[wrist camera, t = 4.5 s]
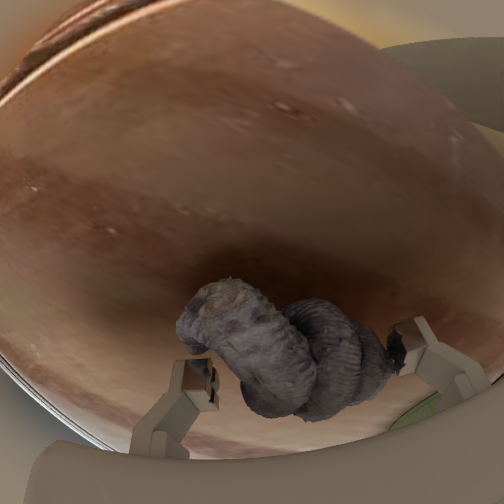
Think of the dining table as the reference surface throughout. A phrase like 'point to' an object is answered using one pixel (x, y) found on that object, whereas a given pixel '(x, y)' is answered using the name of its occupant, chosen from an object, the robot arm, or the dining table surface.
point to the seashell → (286, 350)
